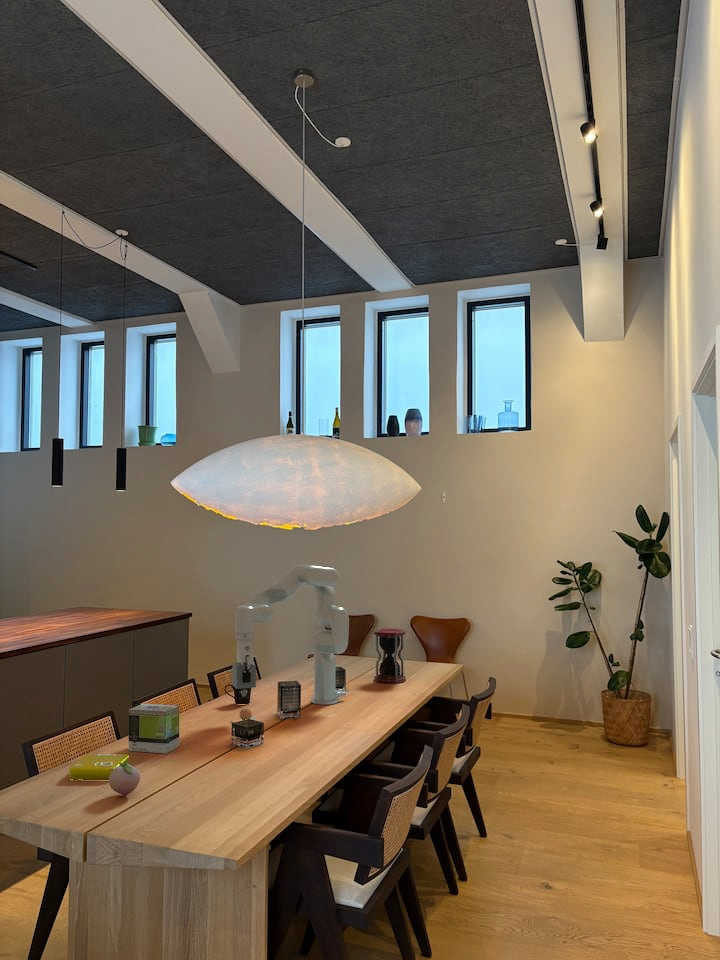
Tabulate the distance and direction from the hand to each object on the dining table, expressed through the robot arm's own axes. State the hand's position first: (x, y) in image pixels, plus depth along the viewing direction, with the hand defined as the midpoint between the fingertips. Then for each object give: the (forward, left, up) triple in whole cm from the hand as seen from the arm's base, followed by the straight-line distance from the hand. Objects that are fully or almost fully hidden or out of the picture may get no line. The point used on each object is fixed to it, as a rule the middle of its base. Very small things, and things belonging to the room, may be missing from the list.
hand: (244, 680), depth 304 cm
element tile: (+57, +44, -17) cm, 74 cm away
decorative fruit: (+52, +68, -16) cm, 87 cm away
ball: (-1, 0, -14) cm, 14 cm away
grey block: (0, 0, -2) cm, 2 cm away
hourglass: (-86, -46, -16) cm, 99 cm away
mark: (0, 0, -16) cm, 16 cm away
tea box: (+38, +24, -17) cm, 48 cm away
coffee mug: (-5, -29, -16) cm, 34 cm away
